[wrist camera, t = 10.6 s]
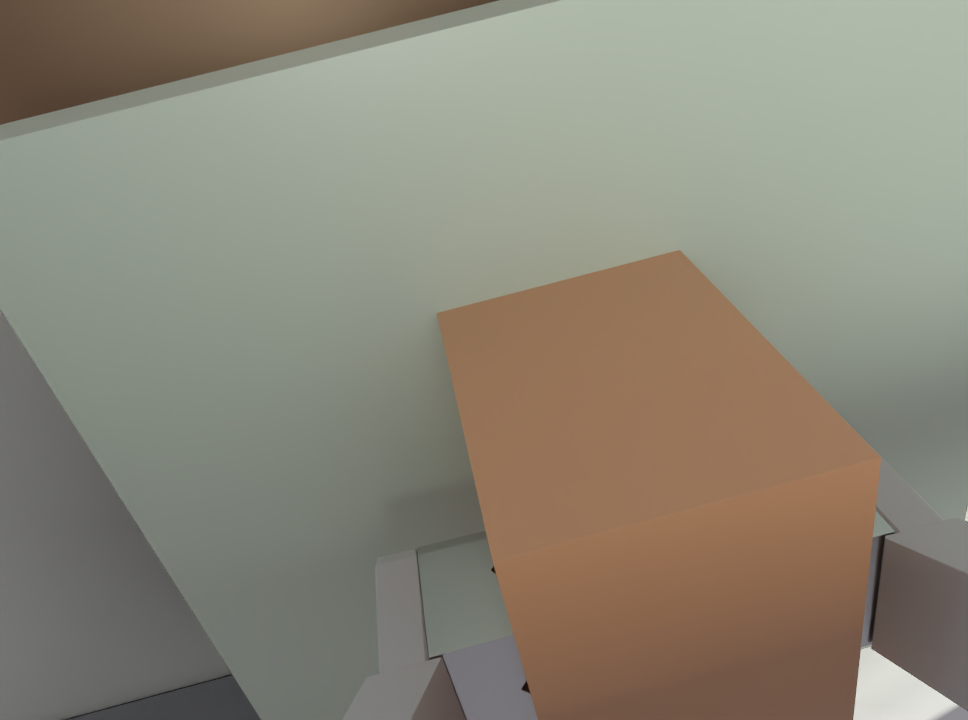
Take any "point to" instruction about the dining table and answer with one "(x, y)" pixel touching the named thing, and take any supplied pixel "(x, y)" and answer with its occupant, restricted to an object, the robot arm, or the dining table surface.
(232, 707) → the storage box
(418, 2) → the walnut board
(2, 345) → the dining table surface
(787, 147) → the lid
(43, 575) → the dining table surface
